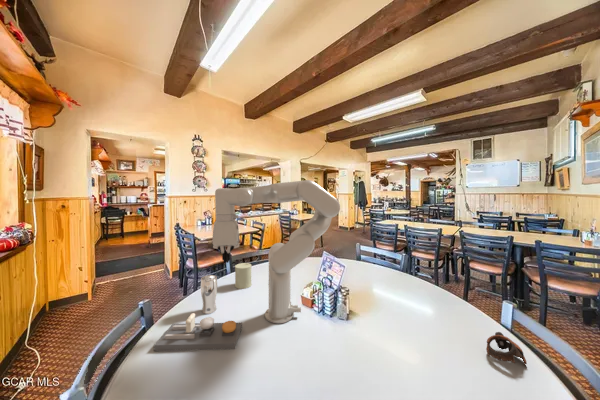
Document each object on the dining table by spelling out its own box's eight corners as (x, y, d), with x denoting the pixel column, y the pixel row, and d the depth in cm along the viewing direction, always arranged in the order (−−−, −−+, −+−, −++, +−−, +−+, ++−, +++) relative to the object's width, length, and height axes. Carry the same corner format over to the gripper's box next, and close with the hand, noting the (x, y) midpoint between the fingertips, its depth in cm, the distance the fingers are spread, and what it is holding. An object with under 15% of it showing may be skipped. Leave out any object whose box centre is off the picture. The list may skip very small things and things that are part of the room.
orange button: (237, 327, 85) (237, 320, 84) (234, 335, 80) (234, 328, 80) (224, 327, 84) (224, 320, 84) (220, 335, 80) (220, 328, 79)
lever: (197, 327, 84) (197, 312, 84) (191, 337, 79) (191, 320, 78) (189, 327, 84) (189, 312, 84) (183, 337, 79) (182, 320, 78)
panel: (242, 327, 88) (242, 319, 88) (234, 348, 76) (234, 339, 76) (172, 328, 87) (172, 320, 87) (154, 350, 75) (153, 341, 75)
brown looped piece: (536, 376, 67) (525, 354, 66) (499, 378, 71) (488, 357, 70) (516, 342, 77) (506, 322, 77) (484, 345, 82) (475, 327, 81)
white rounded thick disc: (215, 323, 84) (215, 317, 84) (211, 331, 79) (211, 324, 79) (203, 324, 84) (202, 317, 84) (197, 332, 79) (197, 325, 79)
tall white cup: (211, 315, 96) (211, 281, 96) (197, 313, 98) (197, 280, 97) (220, 307, 103) (220, 275, 102) (207, 305, 105) (206, 274, 104)
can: (255, 284, 128) (255, 264, 128) (243, 290, 121) (242, 268, 120) (243, 280, 133) (243, 261, 133) (231, 286, 125) (231, 265, 125)
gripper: (245, 216, 96) (246, 258, 97) (210, 217, 95) (211, 259, 96) (241, 219, 88) (242, 264, 89) (203, 219, 87) (205, 265, 88)
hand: (226, 261), depth 93 cm, fingers closed
